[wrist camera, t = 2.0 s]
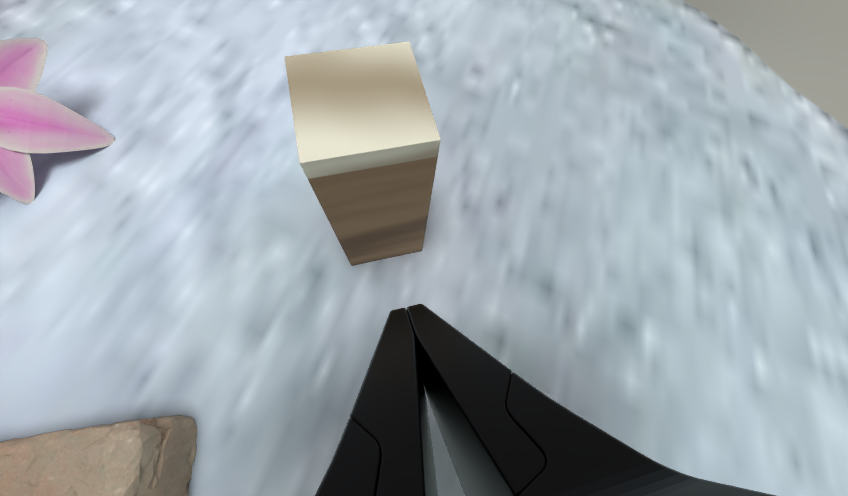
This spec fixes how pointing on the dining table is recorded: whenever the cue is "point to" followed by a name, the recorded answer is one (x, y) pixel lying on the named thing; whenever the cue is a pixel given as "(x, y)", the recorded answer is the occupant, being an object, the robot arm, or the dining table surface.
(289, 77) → the walnut block
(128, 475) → the brick
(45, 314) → the dining table surface
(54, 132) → the lily
